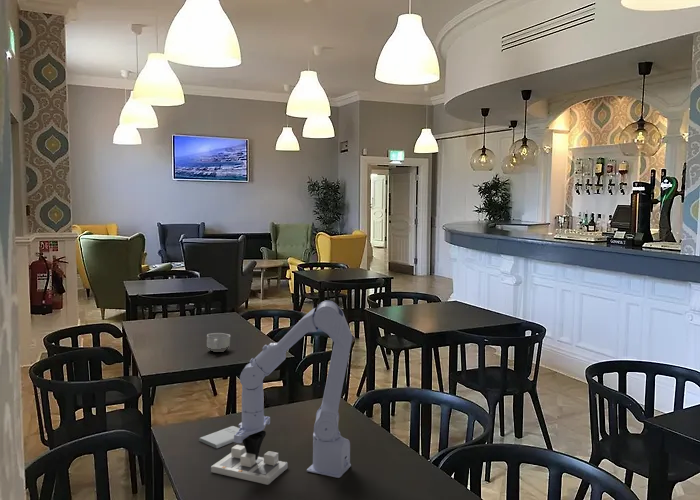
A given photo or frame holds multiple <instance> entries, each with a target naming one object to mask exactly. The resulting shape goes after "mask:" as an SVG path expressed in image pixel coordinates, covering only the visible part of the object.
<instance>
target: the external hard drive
mask: <svg viewBox="0 0 700 500" xmlns="http://www.w3.org/2000/svg"><path fill="white" fill-rule="evenodd" d="M239 428H240V427H237V426H234V425H231V426H228V427H225V428H223V429H220V430H218V431H217V430H216V431H215V432H212V433H209V434H207V435H203V436H201V437H199V438H198V441H199V442H200V443H203V444H205V445H208V446H209V447H212V448H214V449H219V448H221V447H224V446H227V445H229V444H232V443H235V442H234V435H235V434H236V433H237V432H238V430H239Z"/></svg>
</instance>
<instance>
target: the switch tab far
mask: <svg viewBox="0 0 700 500" xmlns="http://www.w3.org/2000/svg"><path fill="white" fill-rule="evenodd" d="M230 449H231V452H230V453H231V457H235V458H240V456H241V455H243V454H244V453H247V452H246V449H245V446H244V445H241V444H236V445H235V444H234V446H232V447H230Z"/></svg>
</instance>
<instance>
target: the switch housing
mask: <svg viewBox="0 0 700 500" xmlns="http://www.w3.org/2000/svg"><path fill="white" fill-rule="evenodd" d="M288 468H289V466H288V462H287V461H282V460H278V463H276V464H275V465H269V464H264V456H258V458H257V460H256V461H255V464H254V465H253V466H251V467H247V466H242V465H240V458H235V457H231V452H230V453H229V454H227V455H225V456H224V457H223V458H222V459H219V460H218V461H217V462H215V463H214V464H213V465H211V466H210V472H211V473H214V474H218V475H222V476H223V475H224V476H227V477H232V478H236V479H240V480H245V481H250V482H254V483H258V484H263V485H267V486H268V485H270V484H271V483H273V481H274V480H275V479H276V478H278V477H279V476H280V475H281V474H283V473H284V471H286V470H287V469H288Z"/></svg>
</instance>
